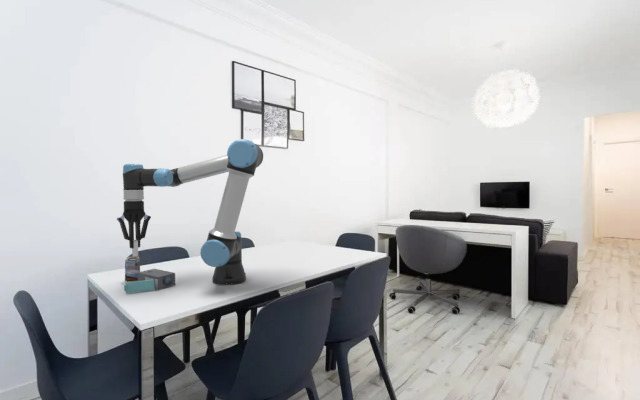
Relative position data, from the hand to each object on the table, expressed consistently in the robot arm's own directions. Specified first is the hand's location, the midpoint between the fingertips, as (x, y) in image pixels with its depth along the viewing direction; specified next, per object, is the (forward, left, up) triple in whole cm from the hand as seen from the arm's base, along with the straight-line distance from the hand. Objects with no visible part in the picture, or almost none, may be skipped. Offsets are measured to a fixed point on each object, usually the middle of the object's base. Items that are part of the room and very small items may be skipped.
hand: (135, 255), depth 141 cm
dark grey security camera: (-1, -9, -15) cm, 17 cm away
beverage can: (+13, -6, -15) cm, 21 cm away
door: (-6, +1, -14) cm, 15 cm away
